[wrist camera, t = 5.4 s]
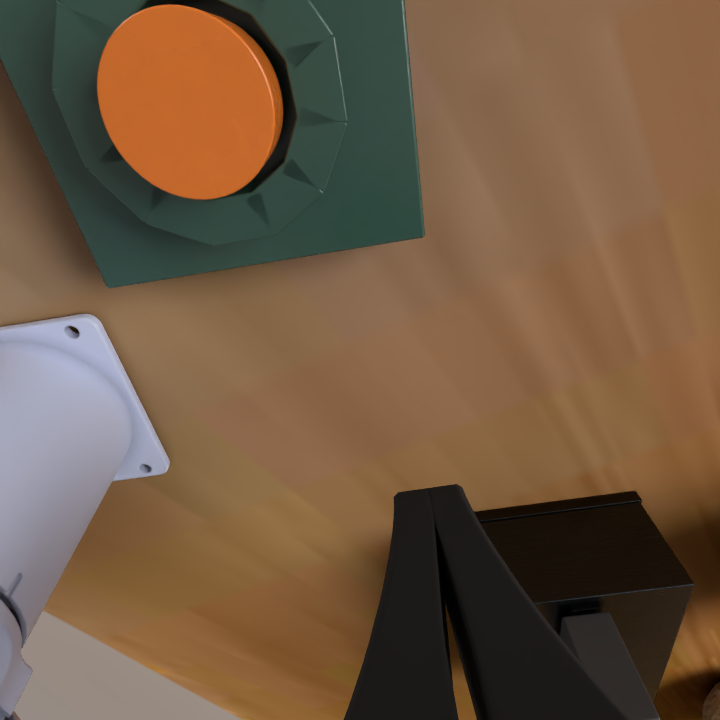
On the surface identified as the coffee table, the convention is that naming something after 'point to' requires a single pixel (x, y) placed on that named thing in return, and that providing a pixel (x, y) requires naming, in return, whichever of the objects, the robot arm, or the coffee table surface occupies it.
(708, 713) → the seashell
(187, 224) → the button block
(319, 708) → the coffee table surface
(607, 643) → the slide knob
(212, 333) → the coffee table surface
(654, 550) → the slide housing
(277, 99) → the button
